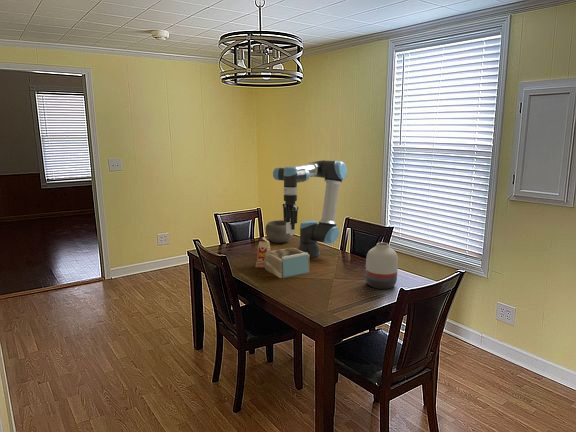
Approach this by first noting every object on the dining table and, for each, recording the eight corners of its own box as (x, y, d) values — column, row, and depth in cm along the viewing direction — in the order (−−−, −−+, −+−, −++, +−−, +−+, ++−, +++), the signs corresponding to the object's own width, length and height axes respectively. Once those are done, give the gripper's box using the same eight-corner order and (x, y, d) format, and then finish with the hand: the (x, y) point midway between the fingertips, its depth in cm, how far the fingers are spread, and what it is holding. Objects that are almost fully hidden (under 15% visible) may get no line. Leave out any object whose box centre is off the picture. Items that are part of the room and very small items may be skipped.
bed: (293, 265, 269) (293, 247, 266) (309, 273, 254) (309, 254, 251) (265, 271, 258) (265, 252, 256) (280, 280, 243) (280, 259, 241)
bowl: (263, 244, 316) (262, 224, 313) (268, 237, 337) (268, 219, 333) (290, 246, 313) (290, 226, 310) (295, 238, 333) (295, 220, 330)
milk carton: (269, 270, 260) (269, 238, 256) (254, 269, 262) (254, 237, 258) (272, 265, 269) (272, 234, 265) (258, 264, 271) (258, 233, 267)
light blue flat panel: (308, 273, 253) (307, 252, 251) (309, 273, 252) (308, 252, 250) (282, 278, 243) (281, 257, 242) (283, 279, 242) (282, 257, 241)
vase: (390, 293, 224) (392, 250, 219) (360, 287, 233) (362, 245, 228) (400, 283, 238) (403, 242, 233) (371, 278, 247) (373, 238, 242)
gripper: (277, 192, 248) (277, 232, 253) (292, 196, 234) (292, 238, 239) (288, 191, 252) (288, 230, 257) (303, 195, 238) (303, 236, 243)
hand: (290, 234), depth 248 cm, fingers open, 3 cm apart
